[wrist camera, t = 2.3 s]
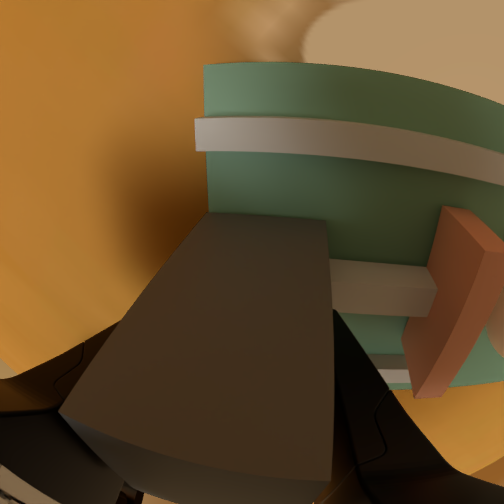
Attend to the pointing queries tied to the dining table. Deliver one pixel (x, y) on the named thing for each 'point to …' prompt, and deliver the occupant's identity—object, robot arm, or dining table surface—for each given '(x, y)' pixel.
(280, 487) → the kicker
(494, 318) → the ball
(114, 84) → the dining table surface
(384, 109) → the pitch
